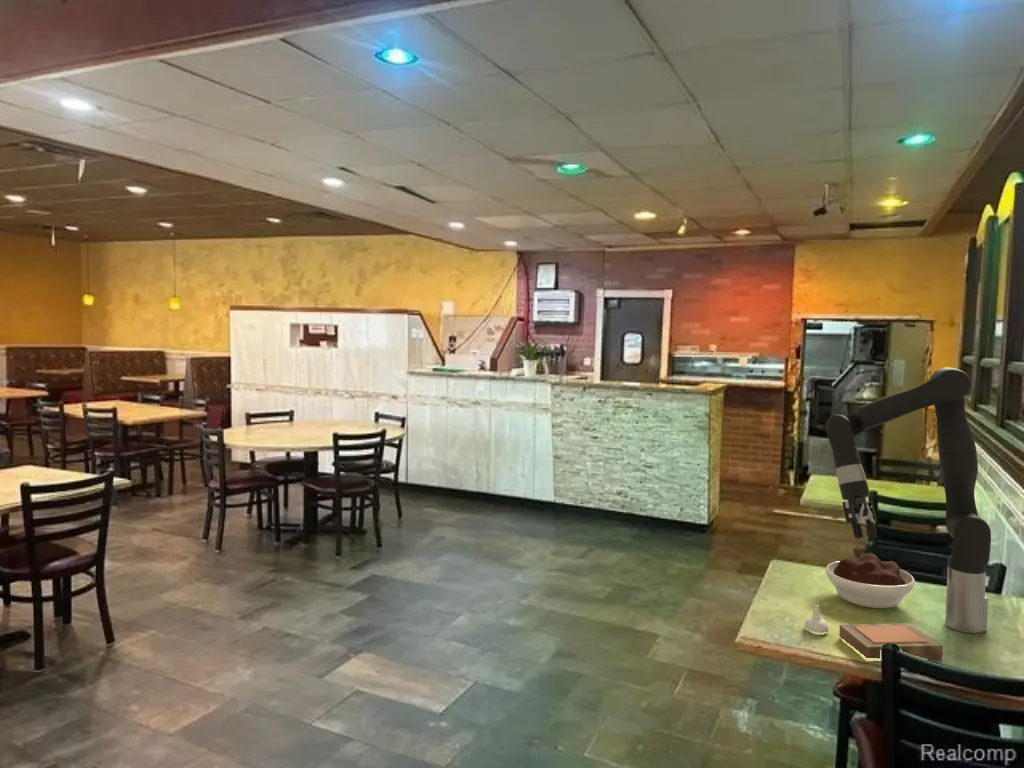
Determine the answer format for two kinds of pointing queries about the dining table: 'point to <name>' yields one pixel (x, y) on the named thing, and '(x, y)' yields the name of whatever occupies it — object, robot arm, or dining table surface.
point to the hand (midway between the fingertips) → (866, 538)
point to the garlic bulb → (816, 622)
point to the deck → (872, 650)
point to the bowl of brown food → (870, 581)
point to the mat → (889, 634)
